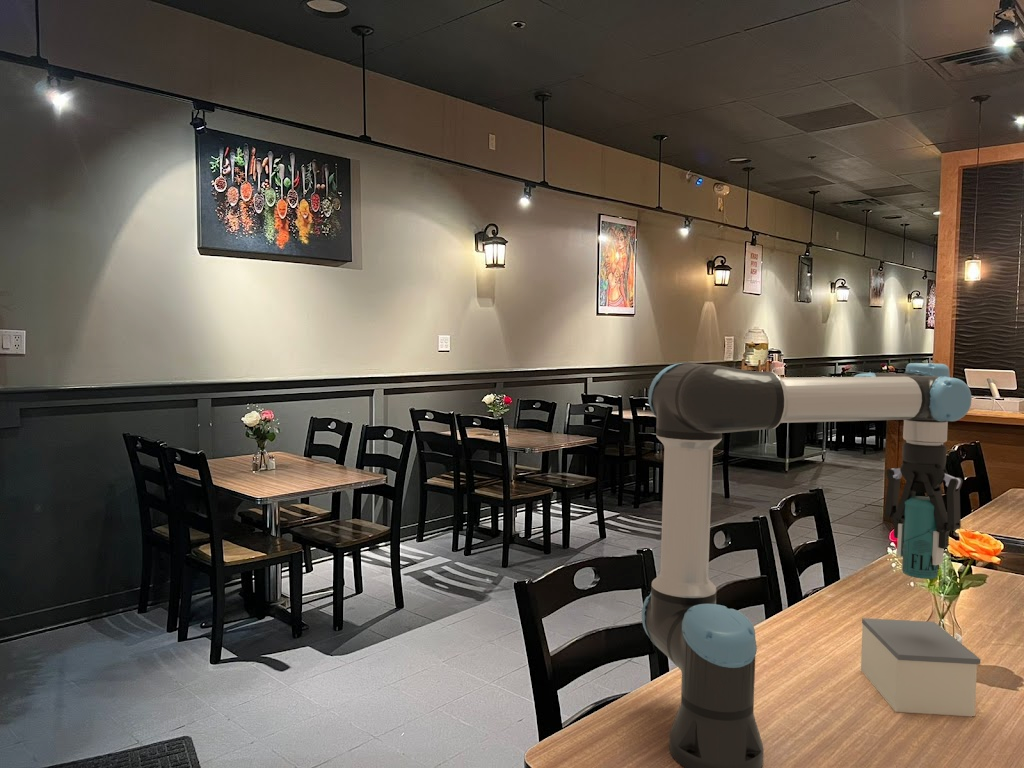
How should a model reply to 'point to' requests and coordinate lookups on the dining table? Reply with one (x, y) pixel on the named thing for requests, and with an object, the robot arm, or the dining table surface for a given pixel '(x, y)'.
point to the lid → (919, 641)
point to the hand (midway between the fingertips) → (919, 559)
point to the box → (918, 681)
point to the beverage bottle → (919, 536)
